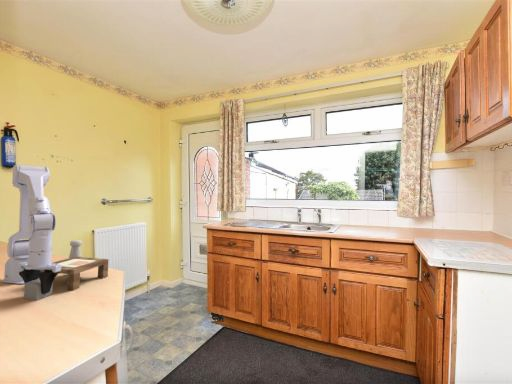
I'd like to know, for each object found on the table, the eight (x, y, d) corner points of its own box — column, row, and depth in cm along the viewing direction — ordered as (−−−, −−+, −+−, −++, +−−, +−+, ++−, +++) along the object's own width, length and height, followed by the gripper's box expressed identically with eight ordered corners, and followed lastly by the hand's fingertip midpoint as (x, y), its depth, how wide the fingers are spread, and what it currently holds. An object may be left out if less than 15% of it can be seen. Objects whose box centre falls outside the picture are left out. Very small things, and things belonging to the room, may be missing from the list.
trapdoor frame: (35, 286, 90) (36, 266, 91) (74, 273, 106) (75, 256, 106) (73, 290, 88) (74, 270, 88) (107, 276, 103) (108, 259, 104)
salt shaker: (74, 272, 107) (75, 241, 108) (63, 271, 109) (64, 240, 109) (85, 268, 113) (87, 239, 113) (75, 267, 114) (76, 238, 114)
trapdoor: (51, 267, 93) (51, 264, 93) (74, 261, 103) (75, 258, 103) (74, 270, 91) (74, 267, 91) (96, 263, 101) (96, 260, 101)
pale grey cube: (23, 298, 80) (24, 283, 80) (39, 292, 85) (40, 278, 85) (36, 300, 79) (37, 284, 79) (52, 294, 84) (53, 279, 84)
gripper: (8, 251, 79) (6, 294, 79) (46, 254, 77) (44, 299, 77) (31, 247, 86) (30, 286, 86) (67, 250, 84) (66, 290, 84)
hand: (38, 292), depth 82 cm, fingers closed on pale grey cube, 5 cm apart
